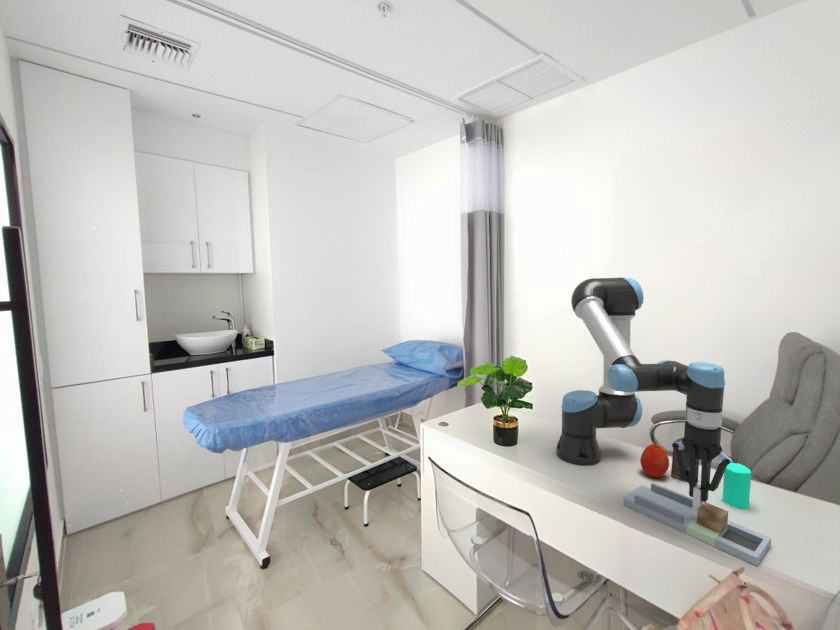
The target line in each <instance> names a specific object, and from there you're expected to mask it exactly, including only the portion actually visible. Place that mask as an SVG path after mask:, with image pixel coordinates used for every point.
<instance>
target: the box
mask: <svg viewBox="0 0 840 630" xmlns="http://www.w3.org/2000/svg"><path fill="white" fill-rule="evenodd" d="M683 438H684V436H683V437H680V438H678V439H676V440H675V441H673V443H674V442H676V441H682V439H683ZM684 447H685V446H684ZM684 450H685V455H686V459H687V464H688V469H689V473H690V454H689V453H688V451H687V450H686V448H684ZM671 458H672V460H671V461H672V462H671V472H670V477H672V478H674V479H677V480H679V481H682V482H684V481H683V480H682V479H681V474H680V470H679V465H678V460H677V455H676V452H675V450H674V448H673V447H672V457H671Z"/></svg>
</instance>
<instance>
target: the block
mask: <svg viewBox="0 0 840 630" xmlns="http://www.w3.org/2000/svg"><path fill="white" fill-rule="evenodd" d="M728 520H729V510H727V509H723V508H721V507H719V506H716V505H715V504H711V503H709V502H707V501H706V502H703V504H702V505H701V506H700V507H699V508H698V509H697V524H699V525H701V526H703V527H705V528H708V529H710V530H712V531H715V532H717V533H719V534H721V533H722V531H723V530H724V529H725V528H726V527H727V524H728Z"/></svg>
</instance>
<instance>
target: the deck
mask: <svg viewBox="0 0 840 630" xmlns="http://www.w3.org/2000/svg"><path fill="white" fill-rule="evenodd" d="M622 504H623V505H624V506H627V507H629V508H630V509H633V510H635V511H638V512H639V513H641V514H644V515H646V516H647V517H650V518H652V519H655V520H657V521H658V522H661V523H663V524H664V525H667V526H669V527H672V528H674V529H675V530H678V531H680V532H682V533H684V534H687V535H689V536H691V537H693V538H695V539H698V540H700V541H702V542H704V543H706V544H709V545H711V546H712V547H714V548H717V549H719V550H720V551H723V552H726V553H728V554H729V555H732V556H733V557H734V556H735V557H736V558H738V559H741V560H742V561H745V562H747V563H749V564H751V565H753V566H756V567H757V566H759V563H760V562H761V561H762V559H763V558H764V556H765V554H767V552H768V551H769V549H770V548H771V545H772V537H770V536H768V535H765V534H763V533H760V532H758V531H755V530H753V529H751V528H748V527H745V526H744V525H741V524H738V523H737V522H736V523H735V522H733V521H731V520H729V519H728V524H727V527H726V528H725V529H724V530H723V531H722V533H721V534H719V533H717V532H715V531H712V530H710V529H708V528H705V527H703V526H701V525H699V524H697V513H696V512H693V511H692V507H693V497H690V496H687V495H684V494H681V493H679V492H676V491H674V490H671V489H669V488H667V487H663V486H662V485H659V484H658V483H654V482H652V483H650V487H648V486H645V485H643V484H641V485H640V486H638V487H636V488H635V489H634V490H633V491H631V492H630V493H628V494H627V495H625V496H624V497H623V503H622Z"/></svg>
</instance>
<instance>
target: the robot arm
mask: <svg viewBox="0 0 840 630" xmlns="http://www.w3.org/2000/svg"><path fill="white" fill-rule="evenodd" d="M570 303H571V307H572V310H573V312H574V314H575V316H576V317H577V318H578V319H581V320H582V322H583V323H584V324H585V327H586V328H587V330H588V332H589V333H590V335H591V337H592V339H593V340H594V342H595V344H596V346H597V348H598V349H599V350H600V352H601V354H602V356H603V373H602V374H603V381H602V382H603V383H602V386H600V387H599V388H598V394H597V393H596V392H594V391H591V390H583V389H580V390H579V389H578V390H572V391H569V392H566V394H564V395H563V397H562V400H561V401H562V402H561V434H560V437H559V439H558V441H557V445H556V447H555V448H556V451H555V452H556V453H555V454H556V455H557V456H558V458H560V459H561V460H563V461H565V462H568V463H570V464H573V465H574V464H575V465H579V466H581V465H582V466H592V465H595V464H598V463H600V462H601V460H602V452H601V450H600V445H599V442H598V439H597V429H613V428H616V429H617V428H620V429H626V428H631V427H635V426H637V424H639V422H640V421H641V419H642V416H643V404H642V403H641V399H640V397H638V396H637V395H636V394H635V392H664V391H665V392H666V391H668V392H669V391H675V392H678V393H680V394H683V395H685V396H686V401H685V414H684V415H685V420H686V421H685V422H684V432H683V433H684V436H683V439H682V441H676V440H675V441H676V442H674V441H673V443H672V444H671V447H672V449H673V448H674V450H675V452H676V455H677V460H678V465H679V470H680V474H681V479H682V480H683V481H682V480H681V481H682V482H686V483H687V484H688V485H689V486H688V487H689V488H688V489H689V490H688V495H689V496H688V497H689V498H692V499H693V507H692V511H693V512H696V513H697V509H698V508H699V507H700V506H701V505H702V504H704V503H705V502H706V503H707V501H708V500H709V491H711V492H715V491H716V490H717V489H718V488H719V486H720V483H721V481H722V478H724V472H725V470H726V467H727V465H728V464H730V463H733V461H734V459H733V457H731V456H727V455H726V454H725V453H724V452H723V448H722V446H721V437H722V436H721V435H722V428H721V427H722V425H723V423H722V422H723V407H724V396H725V395H724V393H725V386H726V382H725V381H726V380H725V369H724V368H723V366H721V365H719V364H716V363H715V364H714V363H711V362H710V363H709V362H703V361H702V362H696V361H695V362H690V363H689V364H687V365H686V364H683V363H681V362H678V361H677V360H676V361H675V360H671V359H663V360H661V361H659V362H657V363H641V362H640V360H639V359H638V358H637V357H636V355H635V353H634V351H633V350H632V349H631V321H632V319H634V318H635V316H636V311H638V310H640V309H641V308H642V306H643V303H644V290H643V288H642V286H641V285H640V284H639V281H637V280H636V279H634V278H632V277H620V276H619V277H602V278H601V277H599V278H597V277H593V278H587V279H585V280H583V281H581V282H580V283H579V284H578V285H577V286H576V287H575V289H574V290H573V292H572V295H571V302H570ZM684 446H685V447H684ZM684 448H686V450H687V451H688V453H689V454H690V473H689V469H688V464H687V459H686V455H685V450H684ZM717 457H719V458H718V462H719V464H718V465H717V468H716V470H715V472H714V474H713V477H712V479H711V469H712V461H713V460H714V459H716V458H717ZM700 464H701V473H700V472H699V469H700ZM699 473H700V484H699Z"/></svg>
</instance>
